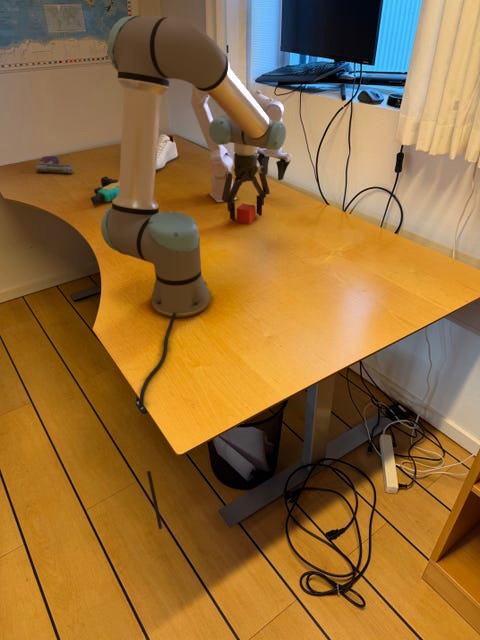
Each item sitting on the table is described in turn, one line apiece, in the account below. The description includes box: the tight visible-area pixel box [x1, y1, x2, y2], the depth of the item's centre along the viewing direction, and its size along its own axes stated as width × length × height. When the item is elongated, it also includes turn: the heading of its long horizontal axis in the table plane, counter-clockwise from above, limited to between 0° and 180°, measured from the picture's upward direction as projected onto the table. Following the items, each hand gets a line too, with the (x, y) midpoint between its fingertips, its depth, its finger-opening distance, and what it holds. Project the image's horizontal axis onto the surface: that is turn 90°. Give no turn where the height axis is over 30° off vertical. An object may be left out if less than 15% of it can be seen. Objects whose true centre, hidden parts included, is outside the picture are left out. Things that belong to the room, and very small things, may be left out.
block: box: [236, 202, 256, 224], centre depth 166 cm, size 5×5×5 cm
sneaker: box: [156, 133, 179, 170], centre depth 214 cm, size 10×29×12 cm, turn 163°
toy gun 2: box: [90, 176, 120, 206], centre depth 186 cm, size 4×26×15 cm
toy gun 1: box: [34, 155, 74, 174], centre depth 213 cm, size 4×19×15 cm
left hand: (246, 217), depth 167 cm, fingers open, 10 cm apart
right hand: (272, 177), depth 175 cm, fingers open, 7 cm apart
